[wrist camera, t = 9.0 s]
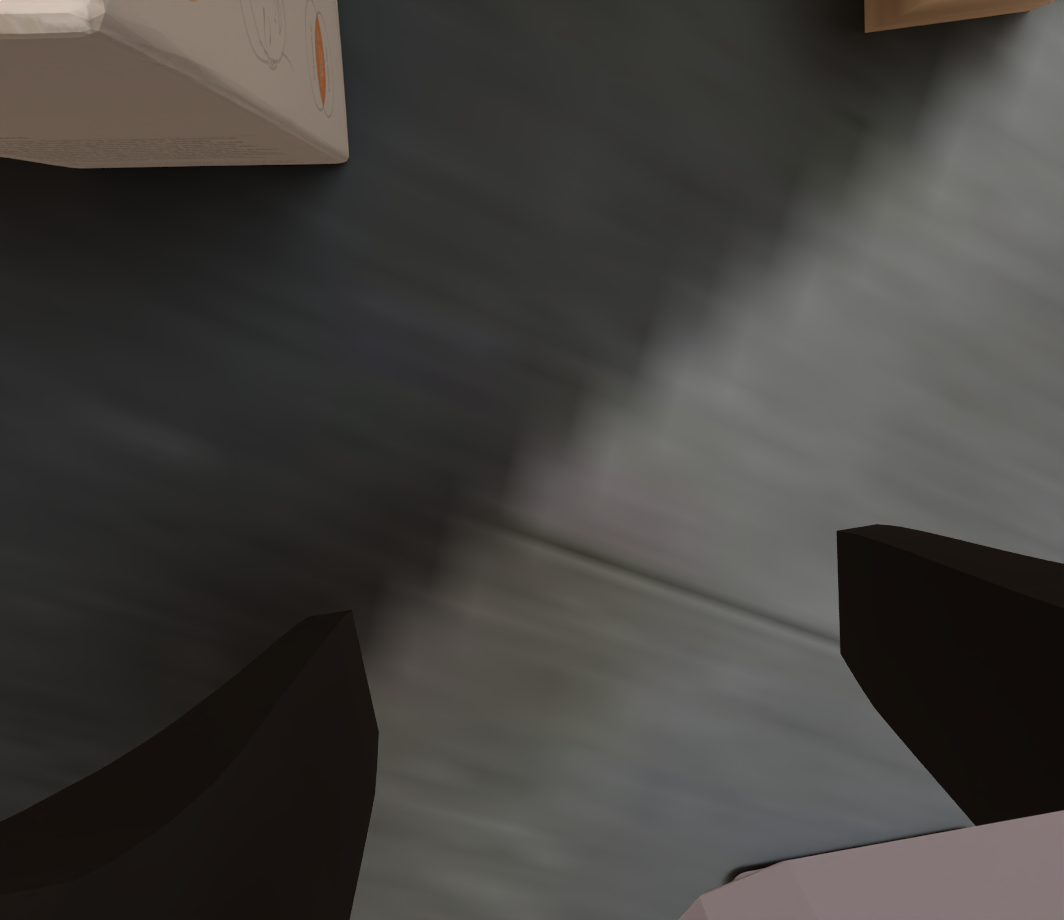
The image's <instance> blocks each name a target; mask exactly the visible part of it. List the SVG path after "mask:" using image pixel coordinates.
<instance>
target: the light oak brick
mask: <svg viewBox="0 0 1064 920" xmlns="http://www.w3.org/2000/svg"><path fill="white" fill-rule="evenodd" d="M1053 1H1055V0H864V6H865V33H868V32H876V31H883V30H891V29H898V28H906V27H913V26H921V25H928V24H936V23H943V22H951V21H958V20H966V19H973V18H981V17H988V16H995V15H1003V14H1010V13H1018V12H1025V11H1031V10H1033V9H1035V8H1038V7H1040V6H1043V5H1045V4H1048V3H1050V2H1053Z"/></svg>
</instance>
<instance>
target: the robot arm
mask: <svg viewBox="0 0 1064 920" xmlns="http://www.w3.org/2000/svg"><path fill="white" fill-rule="evenodd" d="M837 558H838V589H839V620H840V651H841V655H842V657H843V659H844V660H845V662H846V664H847V665H848V667H849V669H850V670H851V672H852V673H853V675H854V677H855V678H856V680H857V682H858V683H859V685H860V686H861V688H862V690H863V691H864V693H865V694H866V696H867V697H868V699H869V700H870V702H871V703H872V705H873V706H874V708H875V709H876V710H877V711H878V713H879V714H880V715H881V716H882V717H883V719H884V720H885V721H886V722H887V723H888V725H889V726H890V727H891V728H892V729H893V730H894V732H895V733H896V734H897V735H898V736H899V738H900V739H901V740H902V741H903V742H904V743H905V745H906V746H907V747H908V748H909V749H910V750H911V752H912V753H913V754H914V755H915V756H916V757H917V759H918V760H919V761H920V762H921V763H922V764H923V766H924V767H925V768H926V769H927V770H928V771H929V772H930V774H931V775H932V776H933V777H934V778H935V779H936V781H937V782H938V783H939V784H940V785H941V786H942V787H943V789H944V790H945V791H946V792H947V793H948V794H949V796H950V797H951V798H952V799H953V800H954V801H955V802H956V804H957V805H958V806H959V807H960V808H961V809H962V811H963V812H964V813H965V814H966V815H967V816H968V817H969V819H970V820H971V821H972V822H973V823H974V824H975V826H974V827H969V828H963V829H958V830H952V831H947V832H941V833H936V834H930V835H925V836H919V837H914V838H908V839H902V840H897V841H891V842H886V843H880V844H875V845H869V846H864V847H858V848H853V849H847V850H842V851H836V852H831V853H825V854H820V855H814V856H808V857H803V858H797V859H792V860H786V861H781V862H778V863H776V864H774V865H771V866H769V867H766V868H764V869H758V870H753V871H747V872H744V873H741V874H739V875H738V876H737V877H735V879H734V880H733V881H732V882H730V883H727V884H725V885H722V886H720V887H717V888H715V889H713V890H710V891H708V892H705V893H703V894H702V895H701V896H699V897H698V899H697V900H696V901H695V902H694V903H693V904H692V905H691V906H690V907H689V908H688V909H687V910H686V912H685V913H684V914H683V915H682V916H681V917H680V918H679V919H678V920H1064V564H1062V563H1057V562H1052V561H1047V560H1043V559H1038V558H1034V557H1029V556H1025V555H1020V554H1016V553H1012V552H1008V551H1003V550H999V549H995V548H991V547H987V546H982V545H978V544H974V543H970V542H966V541H962V540H958V539H954V538H949V537H945V536H941V535H937V534H932V533H928V532H924V531H919V530H914V529H909V528H904V527H898V526H891V525H879V524H876V525H870V526H864V527H858V528H852V529H845V530H839V531H837ZM378 736H379V731H378V727H377V722H376V718H375V713H374V709H373V704H372V700H371V695H370V691H369V686H368V682H367V677H366V673H365V668H364V664H363V659H362V655H361V650H360V646H359V641H358V637H357V632H356V628H355V623H354V619H353V614H352V610H348V611H342V612H336V613H330V614H324V615H318V616H312V617H308V618H307V619H305V620H303V621H302V622H300V623H299V624H298V625H296V626H295V627H294V628H292V629H291V630H290V631H289V632H287V633H286V634H285V635H284V636H282V637H281V638H280V639H279V640H278V641H276V642H275V643H274V644H273V645H272V646H270V647H269V648H268V649H267V650H266V651H264V652H263V653H262V654H261V655H260V656H258V657H257V658H256V659H255V660H254V661H252V662H251V663H250V664H249V665H248V666H246V667H245V668H244V669H243V670H241V671H240V672H239V673H238V674H237V675H235V676H234V677H233V678H232V679H231V680H229V681H228V682H227V683H226V684H224V685H223V686H222V687H220V688H219V689H218V690H216V691H215V692H214V693H212V694H211V695H210V696H208V697H207V698H206V699H204V700H203V701H202V702H201V703H199V704H198V705H197V706H195V707H194V708H193V709H191V710H190V711H189V712H187V713H186V714H185V715H183V716H182V717H181V718H179V719H178V720H177V721H175V722H174V723H172V724H171V725H170V726H168V727H167V728H165V729H164V730H162V731H161V732H159V733H158V734H156V735H155V736H153V737H152V738H150V739H149V740H147V741H146V742H144V743H143V744H141V745H140V746H138V747H136V748H135V749H133V750H132V751H130V752H128V753H127V754H125V755H123V756H122V757H120V758H119V759H117V760H115V761H114V762H112V763H111V764H109V765H107V766H106V767H104V768H102V769H100V770H99V771H97V772H95V773H93V774H91V775H90V776H88V777H86V778H84V779H82V780H80V781H78V782H76V783H75V784H73V785H71V786H69V787H67V788H65V789H63V790H61V791H60V792H58V793H56V794H54V795H52V796H50V797H48V798H46V799H45V800H43V801H41V802H39V803H37V804H35V805H33V806H31V807H30V808H28V809H26V810H24V811H22V812H20V813H18V814H16V815H14V816H12V817H9V818H7V819H5V820H3V821H1V822H0V920H349V919H350V915H351V910H352V905H353V900H354V895H355V890H356V886H357V881H358V876H359V871H360V866H361V861H362V857H363V852H364V847H365V842H366V837H367V832H368V827H369V822H370V817H371V812H372V807H373V801H374V796H375V786H376V773H377V756H378Z"/></svg>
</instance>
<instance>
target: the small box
mask: <svg viewBox="0 0 1064 920" xmlns="http://www.w3.org/2000/svg"><path fill="white" fill-rule="evenodd" d="M0 157H5V158H13V159H19V160H25V161H31V162H38V163H44V164H50V165H56V166H64V167H70V168H124V167H174V166H225V165H287V164H337V163H343V162H346V161H347V160H348V158H349V149H348V134H347V119H346V105H345V92H344V79H343V67H342V54H341V42H340V30H339V18H338V5H337V0H0Z"/></svg>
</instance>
